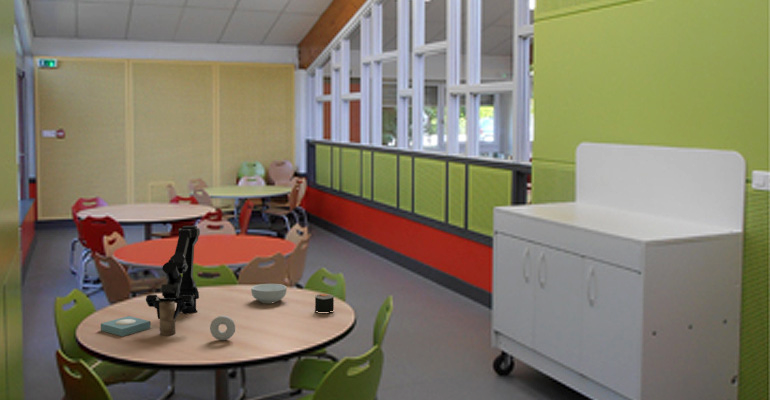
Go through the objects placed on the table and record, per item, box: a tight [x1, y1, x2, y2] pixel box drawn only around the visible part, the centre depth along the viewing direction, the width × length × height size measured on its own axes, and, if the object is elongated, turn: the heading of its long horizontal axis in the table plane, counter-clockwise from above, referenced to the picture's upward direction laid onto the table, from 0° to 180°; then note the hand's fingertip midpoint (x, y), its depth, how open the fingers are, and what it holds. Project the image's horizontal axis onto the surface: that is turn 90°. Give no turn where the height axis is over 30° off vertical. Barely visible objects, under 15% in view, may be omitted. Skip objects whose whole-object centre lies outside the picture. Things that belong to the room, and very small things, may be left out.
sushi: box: [314, 292, 335, 312], centre depth 334 cm, size 8×8×8 cm
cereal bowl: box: [250, 283, 287, 304], centre depth 351 cm, size 17×17×7 cm
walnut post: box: [159, 301, 176, 337], centre depth 298 cm, size 6×6×13 cm
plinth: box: [100, 315, 152, 337], centre depth 304 cm, size 14×14×3 cm
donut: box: [209, 315, 236, 341], centre depth 290 cm, size 10×4×10 cm, turn 94°
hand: (166, 318), depth 297 cm, fingers closed on walnut post, 6 cm apart
